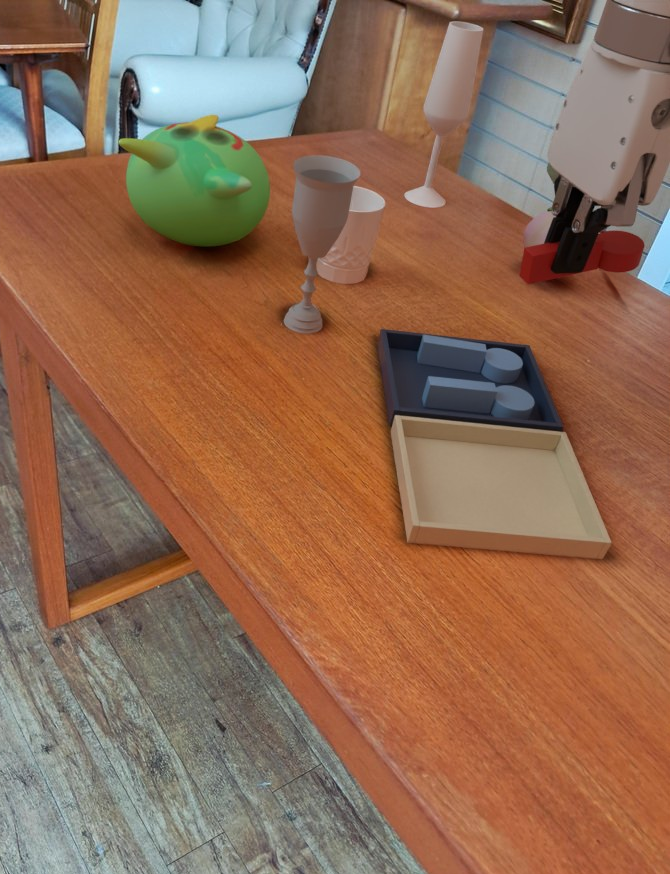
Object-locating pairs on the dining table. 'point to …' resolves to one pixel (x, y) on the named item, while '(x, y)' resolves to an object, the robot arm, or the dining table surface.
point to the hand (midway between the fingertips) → (560, 265)
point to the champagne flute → (449, 98)
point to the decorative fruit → (538, 229)
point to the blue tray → (410, 378)
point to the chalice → (318, 223)
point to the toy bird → (197, 183)
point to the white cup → (354, 240)
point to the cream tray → (494, 489)
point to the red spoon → (607, 254)
